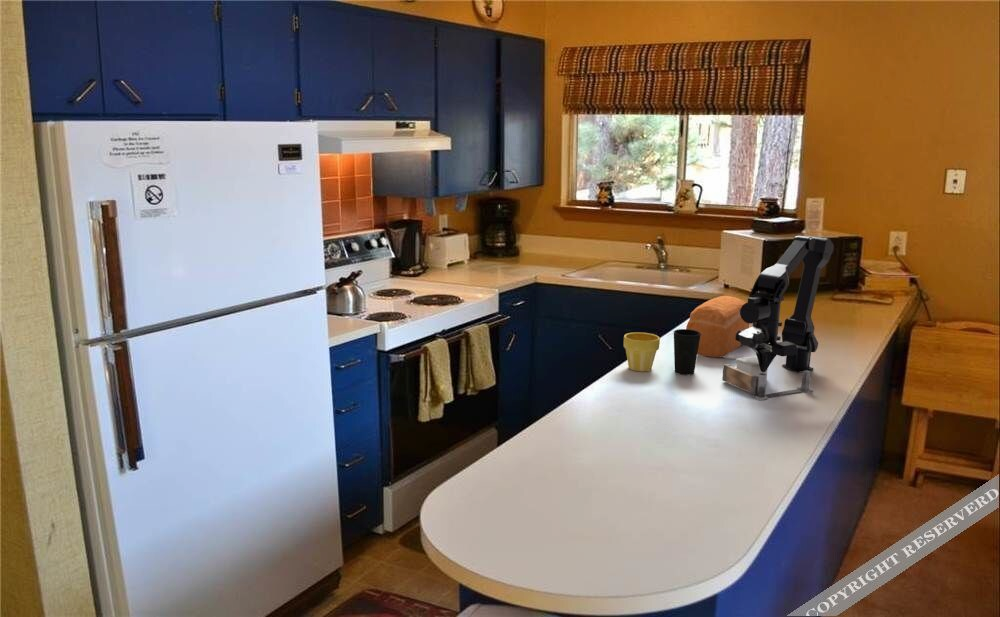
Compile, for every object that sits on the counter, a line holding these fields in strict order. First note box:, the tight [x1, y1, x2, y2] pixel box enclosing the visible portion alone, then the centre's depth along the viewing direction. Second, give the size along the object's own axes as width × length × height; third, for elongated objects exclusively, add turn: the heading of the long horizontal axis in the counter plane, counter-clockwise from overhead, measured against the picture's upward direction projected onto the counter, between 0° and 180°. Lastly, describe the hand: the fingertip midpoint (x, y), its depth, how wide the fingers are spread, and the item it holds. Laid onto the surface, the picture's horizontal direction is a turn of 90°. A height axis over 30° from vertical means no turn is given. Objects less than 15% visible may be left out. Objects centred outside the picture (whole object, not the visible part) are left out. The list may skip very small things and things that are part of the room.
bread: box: [685, 295, 750, 358], centre depth 264 cm, size 14×26×16 cm, turn 146°
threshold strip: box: [765, 388, 803, 399], centre depth 221 cm, size 12×2×1 cm, turn 115°
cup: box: [673, 328, 701, 376], centre depth 237 cm, size 8×8×12 cm
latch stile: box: [796, 370, 814, 393], centre depth 224 cm, size 3×3×6 cm
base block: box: [735, 356, 768, 380], centre depth 235 cm, size 6×6×5 cm
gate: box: [721, 363, 758, 396], centre depth 224 cm, size 13×2×5 cm, turn 25°
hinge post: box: [752, 373, 769, 401], centre depth 217 cm, size 4×4×6 cm
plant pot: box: [623, 332, 661, 373], centre depth 240 cm, size 10×10×10 cm
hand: (763, 371), depth 230 cm, fingers closed
